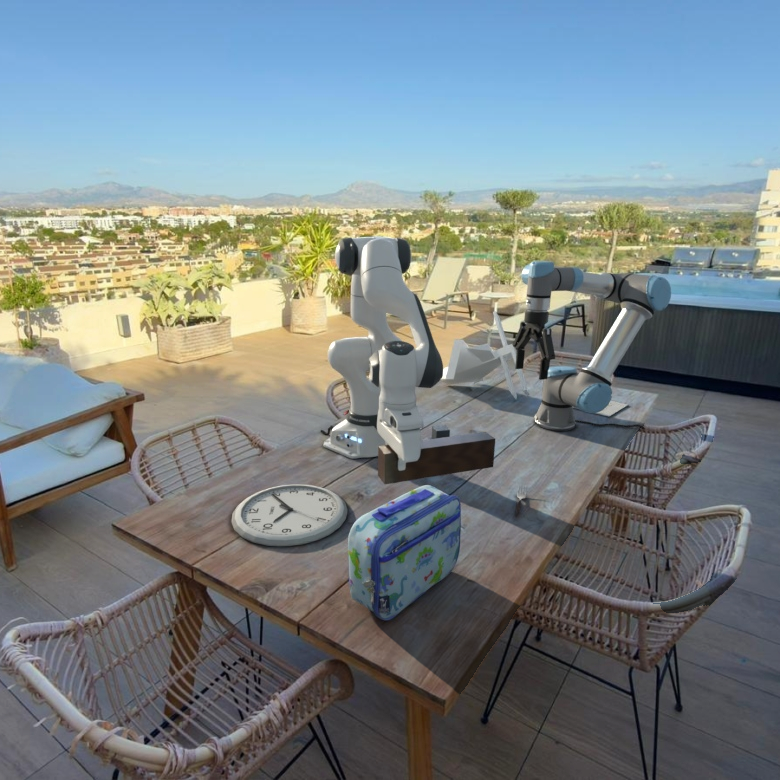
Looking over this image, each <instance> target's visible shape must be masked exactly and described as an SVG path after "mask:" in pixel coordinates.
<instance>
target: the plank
mask: <svg viewBox="0 0 780 780" xmlns="http://www.w3.org/2000/svg"><path fill="white" fill-rule="evenodd" d="M495 451H496V438H495V437H494V436H492V435H491V434H489V433H488V432H487V431H480V432H475V433H474V432H473V433H466V434H458V435H450V437H443V438H436V439H432V438H428V439H423V440H422V439H421V452H420V457H419V459H418V460H417V461H414V462H406V468H405V470H401V471H399V470H398V469H397V462H398V459H399V458H398V455H397V453H396V452H395V451H394V450H393V449H392V448H391V447H390V446H389V445H383V446H378V456H377V477H378V478H379V479H380V480H381V481H382V483H383V485H390V484H395V483H396V484H397V483H402V482H408V481H415V480H421V479H422V480H423V479H428V478H434V477H440V476H446V475H447V476H448V475H452V474H459V473H465V472H470V471H477V470H483V469H484V470H485V469H490V468H494V462H495Z"/></svg>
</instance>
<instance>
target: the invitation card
mask: <svg viewBox="0 0 780 780" xmlns="http://www.w3.org/2000/svg"><path fill="white" fill-rule="evenodd" d="M628 406H629V404H627V403H623V402H618V401H614V400H611V401H610V403H609V404H608V405H607V407H606V408H605V409H603V410H602V411H600V412H597V413H595V414H596V415H600V416H604V417H608V418H609V417H611V416H613V415H614V414H616V413H617V412H619V411H621V410H623V409H624V408H626V407H628ZM573 409H575V410H579V409H578V408H575V407H573Z"/></svg>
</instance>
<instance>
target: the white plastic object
mask: <svg viewBox="0 0 780 780" xmlns="http://www.w3.org/2000/svg"><path fill="white" fill-rule="evenodd" d="M492 315H493V319H494V321H495V324H496V325H495V326H496V328H497V332H498V335H499V338H500V342H501V345H502V347H500V348H498V349H496V350H495V349H493V348H492V347H491V346H490V344H489V343H488V342H487V343H483V344H479V345H473V346H469V345H468V343H466V342H465V340H464V339H463V338H460V339H458V338H454V340H453V344H452V349H451V353H450V357H449V362H448V366H446V367H443V376H442V378H441V380H440V381H442V383H443V384H444V385H445V386H449V385H458V384H467V383H468V384H469V383H473V384H477V383H480V382H482V381H484V378H485V377H486V376H487V375H489V374H490V373H492V372H494V371H495V370H496V369H497V368H499V367H500V366H502V370H503V373H504V376H505V380H506V383H507V386H508V390H509V393H510V394H511V395H512V397H513V398H514V399H515V400H517V392H516V391H517V390H516V388H515V385H514V381H513V378H512V375H511V371H510V369H509V365H508V361H510V360H513V363H514V366H516V351H517V350H516V347H513V343H511V344H508V341H507V337H506V334H505V331H504V328H503V325H502V321H501V318H500V315H499V314H498V312H497V311H496V310H495V311H492ZM516 372H517V376H518V380H519V382H520V385H521V389H522V391H523V393H524V395H525V396H526V397H528V396H531V395H530V390H529V388H528V387H529V386H528V384H527V381H526V378H525V375H524V371H523V369H516Z"/></svg>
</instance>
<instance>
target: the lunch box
mask: <svg viewBox="0 0 780 780" xmlns="http://www.w3.org/2000/svg"><path fill="white" fill-rule="evenodd" d="M461 520H462V506H461V500H460V498H459V497H458V496H457V495H454V494H450V495H449V494H448V493H445V492H444V491H442V490H440V489H438V488H436V487H435V486H432V485H430V484H425V485H420V486H418V487H416V488H415V489H412V490H410V491H408V492H406V493H404V494H402V495H400V496H398V497H396V498H394V499H392V500H390V501H388V502H386V503H384V504H382V505H380V506H378V507H377V508H375V509H372V510H371V511H368V512H367V513H365V514H362V515H361V516H359V517H357V519H356V520H355V521H354V523H353V524H352V526H351V528H350V530H349V533H348V536H347V537H348V538H347V557H348V559H347V560H348V586H349V592H350V597H351V599H352V600H353V601H355V602H356V603H358V604H360V605H362V606H364V607H365V608H366V609H368V610H369V611H371V612H372V613H374V615H375V616H376V617H377V618H379V619H380V620H383V621H390V620H393V619H394V618H395V617H397V616H398V615H399V614H400V613H401V612H402V611H403V610H405V609H406V608H407V607H408V606H409V605H411V604H412V603H414V602H415V601H416V600H417V599H419V598H420V597H421V596H422V595H424V594H425V593H426V592H427V591H429V589H431V588H432V587H433V586H435V585H436V584H438V583H439V582H440V581H442V580H444V579H445V578H446V577H448V575H450V573H451V572H452V571H453V570H454V568H455V566H456V564H457V562H458V559H459V555H460V552H461V551H460V549H461V535H462V534H461V533H462V521H461Z"/></svg>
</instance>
